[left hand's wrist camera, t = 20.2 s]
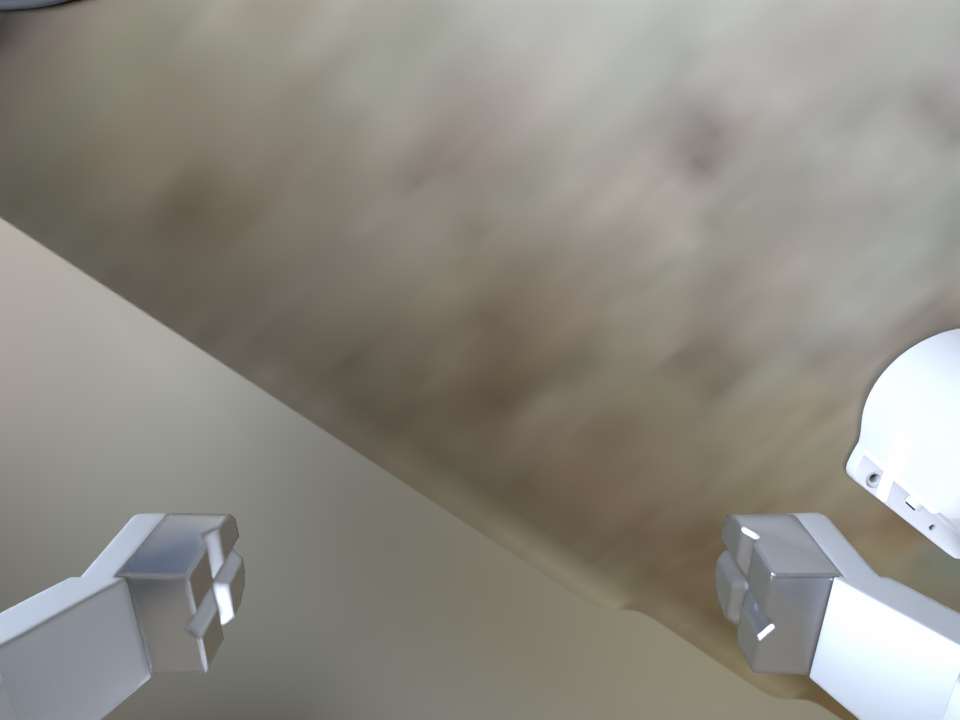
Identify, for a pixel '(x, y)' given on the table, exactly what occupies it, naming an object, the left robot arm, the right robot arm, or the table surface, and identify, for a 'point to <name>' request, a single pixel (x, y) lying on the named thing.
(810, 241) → the table surface
